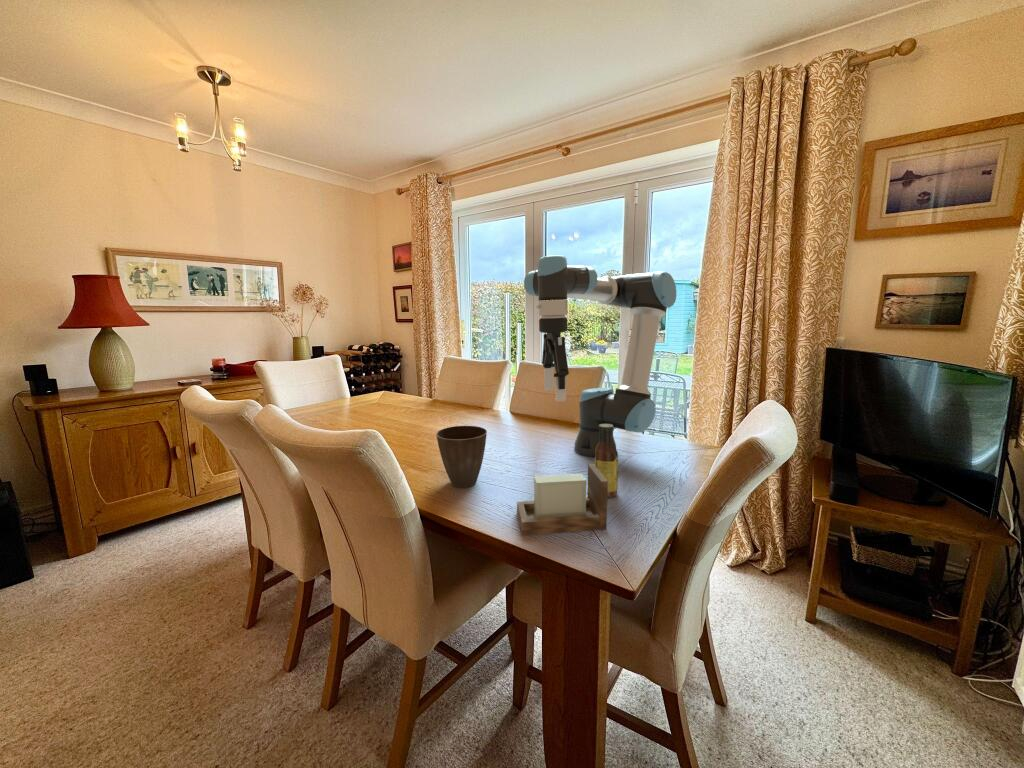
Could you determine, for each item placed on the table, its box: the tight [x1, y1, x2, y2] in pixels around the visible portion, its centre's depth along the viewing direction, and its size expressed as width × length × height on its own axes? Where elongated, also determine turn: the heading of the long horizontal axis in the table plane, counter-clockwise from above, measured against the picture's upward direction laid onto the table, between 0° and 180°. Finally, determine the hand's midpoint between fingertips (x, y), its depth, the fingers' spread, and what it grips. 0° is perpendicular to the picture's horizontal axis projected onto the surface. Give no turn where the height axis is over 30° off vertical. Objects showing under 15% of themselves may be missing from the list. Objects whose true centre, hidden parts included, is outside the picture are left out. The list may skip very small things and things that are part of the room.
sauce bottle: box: [594, 424, 619, 499], centre depth 113 cm, size 7×6×20 cm
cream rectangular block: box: [533, 473, 587, 518], centre depth 99 cm, size 12×4×10 cm, turn 96°
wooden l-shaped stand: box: [516, 463, 608, 536], centre depth 99 cm, size 20×11×12 cm, turn 96°
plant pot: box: [435, 425, 488, 489], centre depth 122 cm, size 15×15×16 cm
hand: (554, 395), depth 112 cm, fingers open, 13 cm apart
